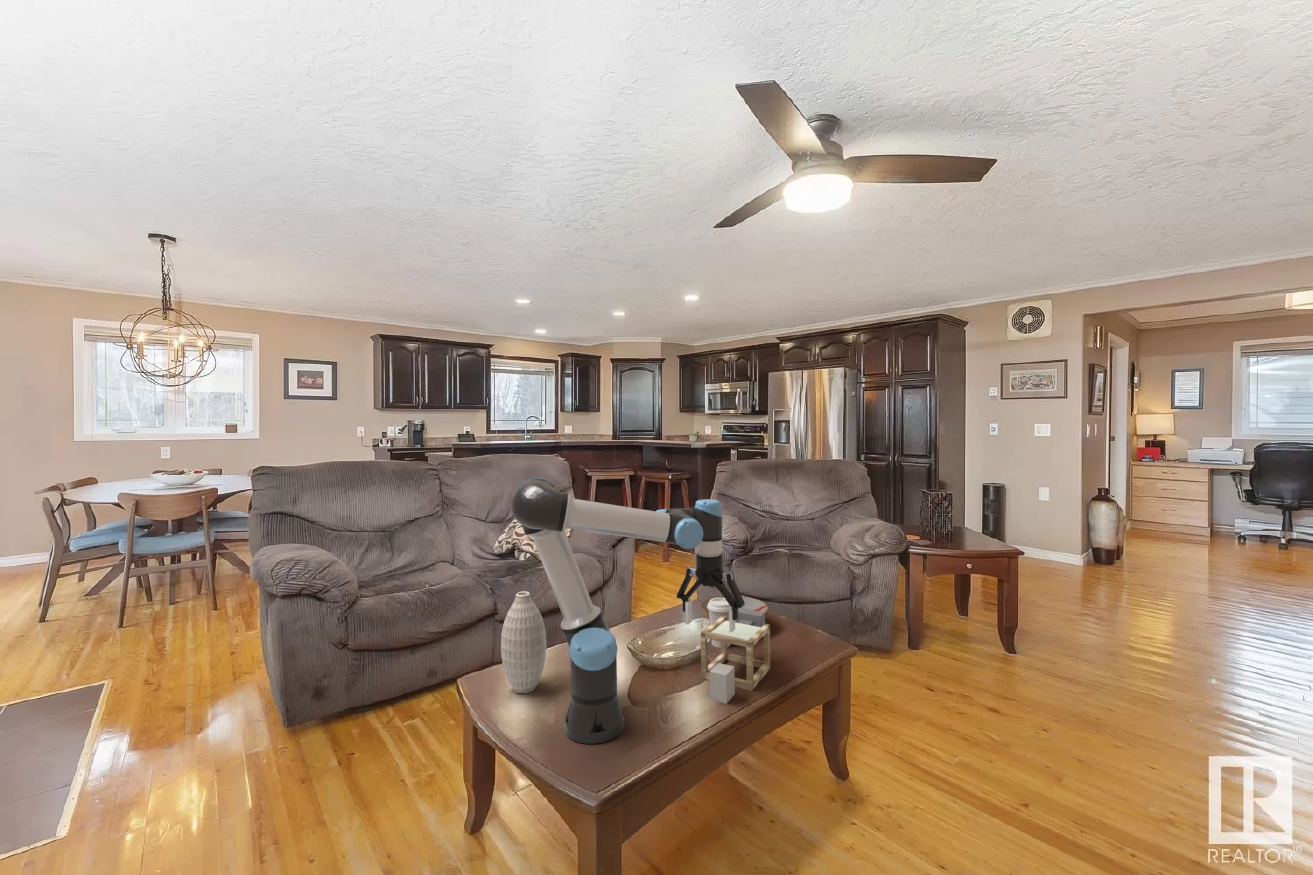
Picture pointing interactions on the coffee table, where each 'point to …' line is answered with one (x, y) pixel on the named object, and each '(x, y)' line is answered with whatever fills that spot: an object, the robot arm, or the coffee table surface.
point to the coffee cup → (718, 614)
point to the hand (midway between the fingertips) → (710, 626)
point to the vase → (523, 644)
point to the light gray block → (722, 683)
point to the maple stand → (748, 660)
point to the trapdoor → (743, 624)
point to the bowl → (749, 604)
